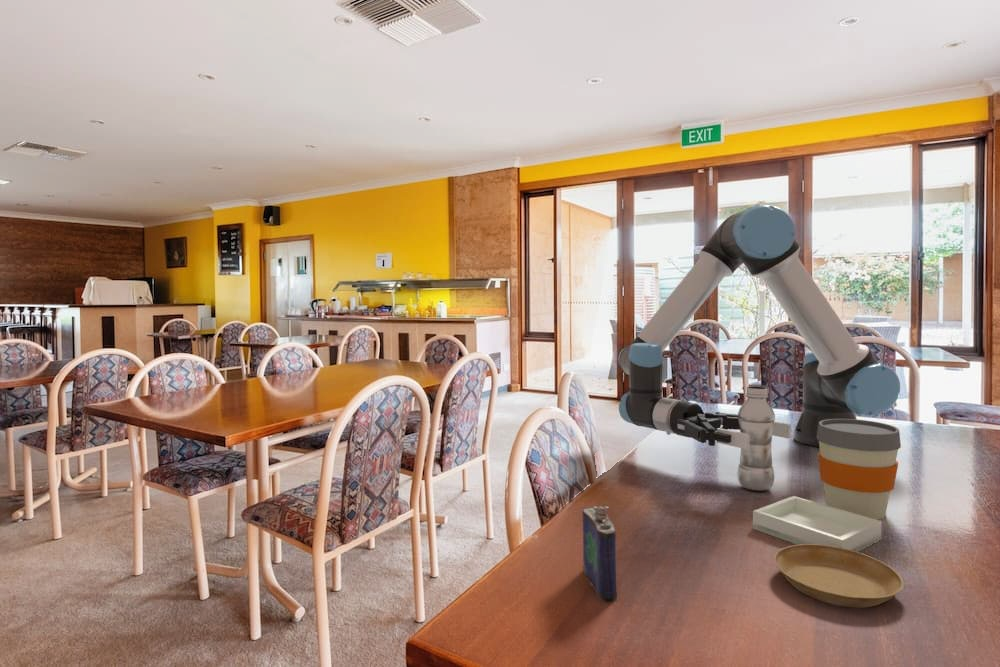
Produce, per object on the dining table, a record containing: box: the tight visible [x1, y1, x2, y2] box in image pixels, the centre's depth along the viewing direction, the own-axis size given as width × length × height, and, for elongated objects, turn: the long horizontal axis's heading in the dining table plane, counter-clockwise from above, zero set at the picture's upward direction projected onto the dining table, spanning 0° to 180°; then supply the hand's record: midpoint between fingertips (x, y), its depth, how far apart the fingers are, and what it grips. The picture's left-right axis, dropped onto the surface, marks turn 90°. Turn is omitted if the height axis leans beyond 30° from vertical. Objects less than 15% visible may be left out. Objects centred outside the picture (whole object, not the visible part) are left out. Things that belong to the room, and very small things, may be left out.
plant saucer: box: [773, 544, 904, 609], centre depth 78 cm, size 15×15×3 cm
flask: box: [582, 505, 618, 603], centre depth 78 cm, size 9×3×11 cm, turn 8°
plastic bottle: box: [736, 385, 776, 492], centre depth 115 cm, size 6×7×20 cm
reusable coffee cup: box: [817, 419, 902, 520], centre depth 103 cm, size 13×13×15 cm
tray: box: [752, 495, 883, 553], centre depth 94 cm, size 12×14×3 cm
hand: (770, 436), depth 112 cm, fingers open, 13 cm apart
